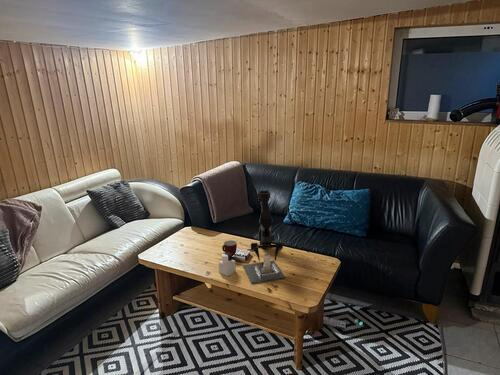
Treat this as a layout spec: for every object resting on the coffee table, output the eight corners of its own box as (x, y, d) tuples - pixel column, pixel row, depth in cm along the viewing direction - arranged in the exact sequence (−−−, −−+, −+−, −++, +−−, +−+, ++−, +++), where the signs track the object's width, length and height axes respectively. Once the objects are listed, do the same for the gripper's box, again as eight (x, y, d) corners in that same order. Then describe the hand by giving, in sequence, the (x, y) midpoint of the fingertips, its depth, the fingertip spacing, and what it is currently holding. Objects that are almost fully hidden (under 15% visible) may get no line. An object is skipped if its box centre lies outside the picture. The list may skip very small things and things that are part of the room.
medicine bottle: (227, 267, 197) (226, 249, 194) (235, 271, 193) (235, 253, 190) (218, 272, 192) (218, 254, 189) (227, 276, 188) (227, 257, 184)
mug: (218, 257, 209) (218, 243, 207) (225, 252, 216) (224, 238, 214) (233, 261, 205) (232, 246, 202) (239, 255, 212) (238, 241, 209)
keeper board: (251, 284, 180) (251, 280, 179) (242, 266, 198) (242, 262, 198) (285, 278, 185) (285, 274, 184) (273, 261, 203) (273, 258, 203)
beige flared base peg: (259, 269, 193) (258, 254, 190) (269, 266, 196) (269, 251, 193) (264, 275, 187) (264, 259, 184) (275, 272, 189) (275, 256, 187)
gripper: (250, 230, 188) (251, 256, 180) (282, 229, 188) (284, 256, 181) (250, 237, 198) (251, 262, 190) (281, 236, 198) (283, 261, 190)
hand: (267, 260), depth 188 cm, fingers open, 9 cm apart
